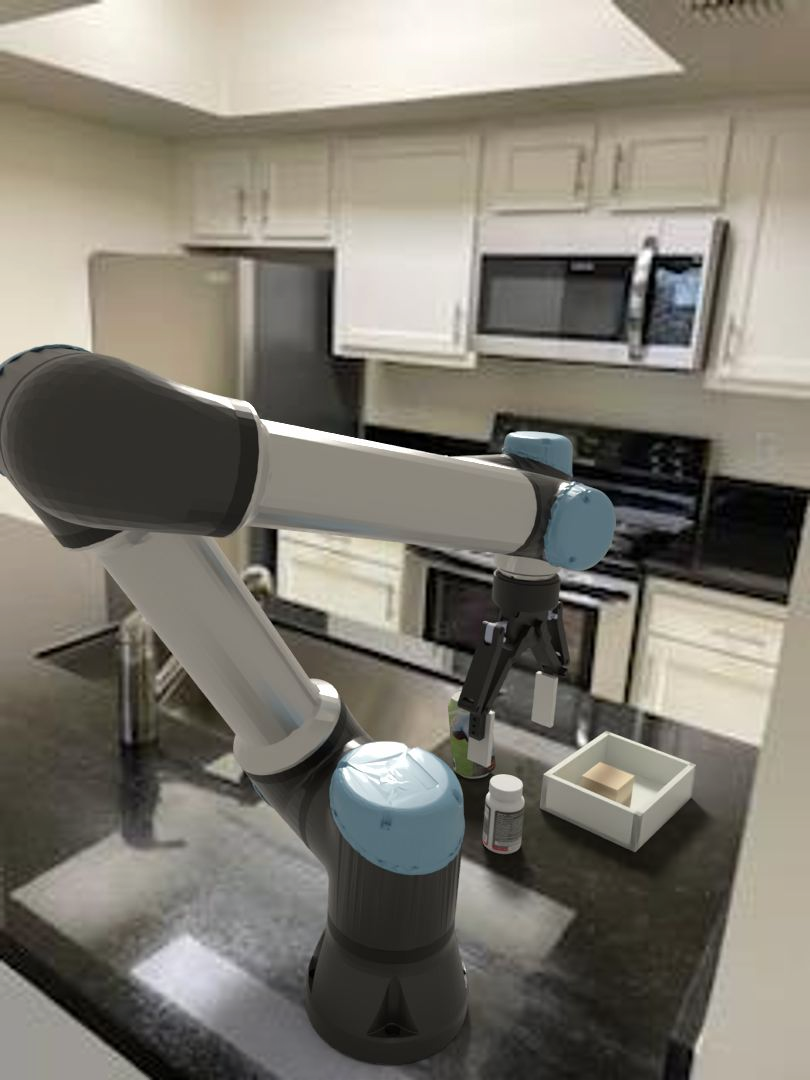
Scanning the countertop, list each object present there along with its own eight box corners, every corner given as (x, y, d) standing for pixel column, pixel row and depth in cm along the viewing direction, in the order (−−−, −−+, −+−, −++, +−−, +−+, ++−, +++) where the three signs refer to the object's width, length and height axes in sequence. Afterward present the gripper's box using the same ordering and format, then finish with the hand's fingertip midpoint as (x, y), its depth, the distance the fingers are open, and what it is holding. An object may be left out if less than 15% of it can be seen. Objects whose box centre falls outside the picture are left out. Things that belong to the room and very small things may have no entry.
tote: (635, 852, 103) (640, 816, 102) (539, 808, 111) (543, 774, 110) (691, 797, 116) (696, 764, 115) (602, 761, 124) (606, 730, 123)
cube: (629, 809, 111) (634, 775, 110) (612, 825, 107) (617, 790, 106) (595, 795, 114) (599, 761, 113) (577, 809, 110) (581, 775, 109)
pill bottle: (528, 844, 103) (534, 783, 101) (505, 860, 100) (511, 797, 98) (497, 827, 106) (502, 768, 104) (474, 842, 103) (479, 781, 101)
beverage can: (492, 787, 116) (499, 707, 113) (439, 779, 117) (445, 699, 114) (496, 765, 122) (503, 688, 119) (446, 757, 123) (452, 681, 120)
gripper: (491, 602, 83) (476, 794, 88) (609, 558, 101) (591, 718, 107) (432, 585, 88) (421, 767, 93) (555, 545, 106) (540, 700, 111)
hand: (512, 742), depth 100 cm, fingers open, 13 cm apart
